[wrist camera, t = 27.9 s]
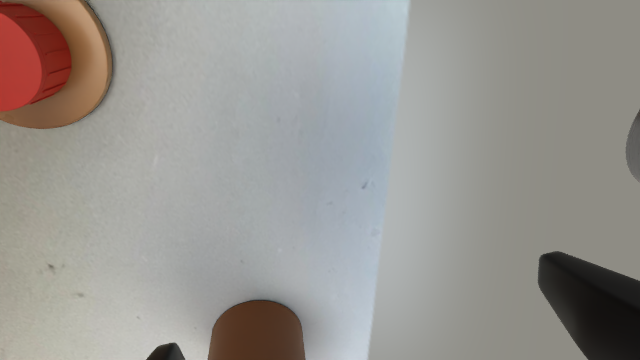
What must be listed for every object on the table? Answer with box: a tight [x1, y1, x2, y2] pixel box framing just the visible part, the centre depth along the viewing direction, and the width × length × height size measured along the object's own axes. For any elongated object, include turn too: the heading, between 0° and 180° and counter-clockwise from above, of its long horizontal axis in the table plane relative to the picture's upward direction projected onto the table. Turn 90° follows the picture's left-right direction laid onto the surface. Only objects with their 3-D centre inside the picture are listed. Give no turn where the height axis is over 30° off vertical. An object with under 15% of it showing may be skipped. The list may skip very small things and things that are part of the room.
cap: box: [0, 1, 72, 111], centre depth 16 cm, size 4×4×3 cm
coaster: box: [0, 0, 112, 129], centre depth 17 cm, size 7×7×1 cm
